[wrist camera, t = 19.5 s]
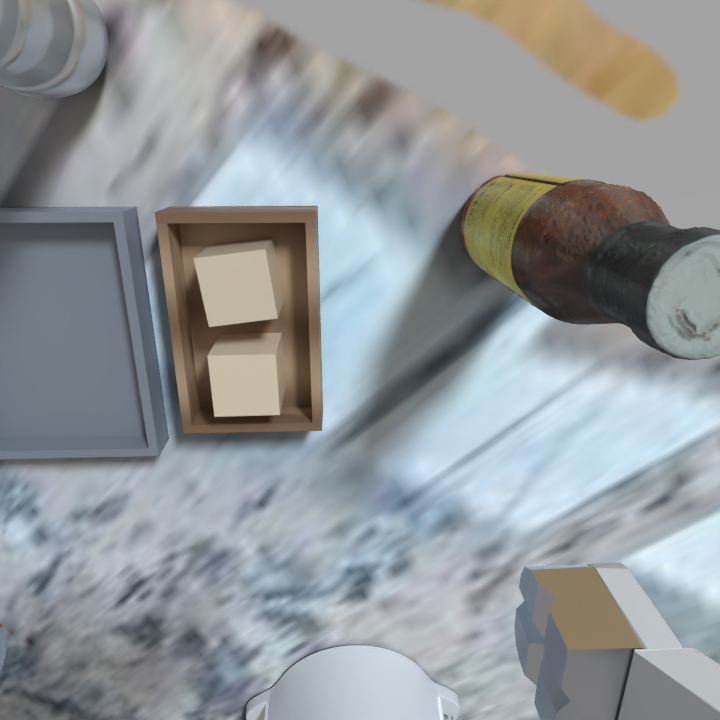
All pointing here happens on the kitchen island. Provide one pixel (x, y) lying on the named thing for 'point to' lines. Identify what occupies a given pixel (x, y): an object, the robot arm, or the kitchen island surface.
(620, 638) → the robot arm
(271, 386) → the cream matte cube
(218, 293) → the beige cube
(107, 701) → the kitchen island surface
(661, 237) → the sauce bottle
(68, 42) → the plastic bottle
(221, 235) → the brown rectangular tray
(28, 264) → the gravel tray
